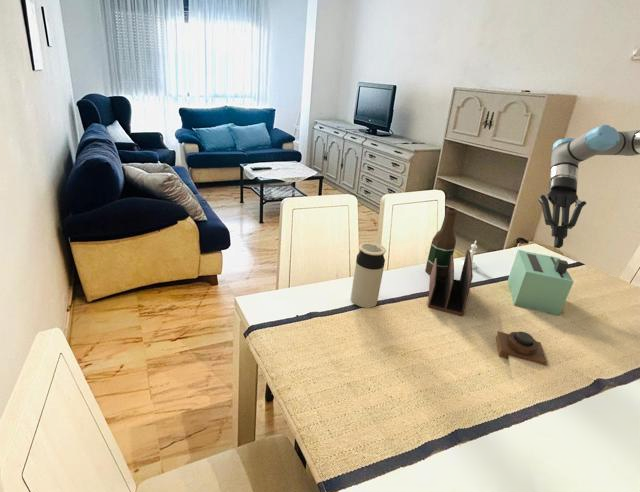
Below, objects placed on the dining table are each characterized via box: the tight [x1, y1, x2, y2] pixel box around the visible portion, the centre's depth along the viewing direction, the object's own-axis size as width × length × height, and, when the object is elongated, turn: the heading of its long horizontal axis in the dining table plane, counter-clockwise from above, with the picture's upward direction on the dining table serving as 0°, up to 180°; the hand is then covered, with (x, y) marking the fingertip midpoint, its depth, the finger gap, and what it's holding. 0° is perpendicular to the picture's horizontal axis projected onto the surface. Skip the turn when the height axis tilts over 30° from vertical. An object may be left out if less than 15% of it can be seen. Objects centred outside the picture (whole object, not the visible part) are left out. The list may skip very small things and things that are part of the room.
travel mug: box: [350, 242, 387, 309], centre depth 113 cm, size 8×8×18 cm
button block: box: [495, 330, 548, 366], centre depth 98 cm, size 10×8×4 cm
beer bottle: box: [425, 207, 458, 277], centre depth 130 cm, size 8×8×24 cm
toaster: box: [507, 249, 574, 317], centre depth 121 cm, size 12×16×12 cm
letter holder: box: [427, 249, 474, 317], centre depth 119 cm, size 10×20×14 cm, turn 158°
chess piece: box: [461, 240, 478, 269], centre depth 139 cm, size 5×5×10 cm
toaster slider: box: [554, 259, 569, 273], centre depth 114 cm, size 2×2×3 cm
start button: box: [515, 331, 534, 346], centre depth 97 cm, size 4×4×2 cm
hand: (558, 246), depth 120 cm, fingers closed
